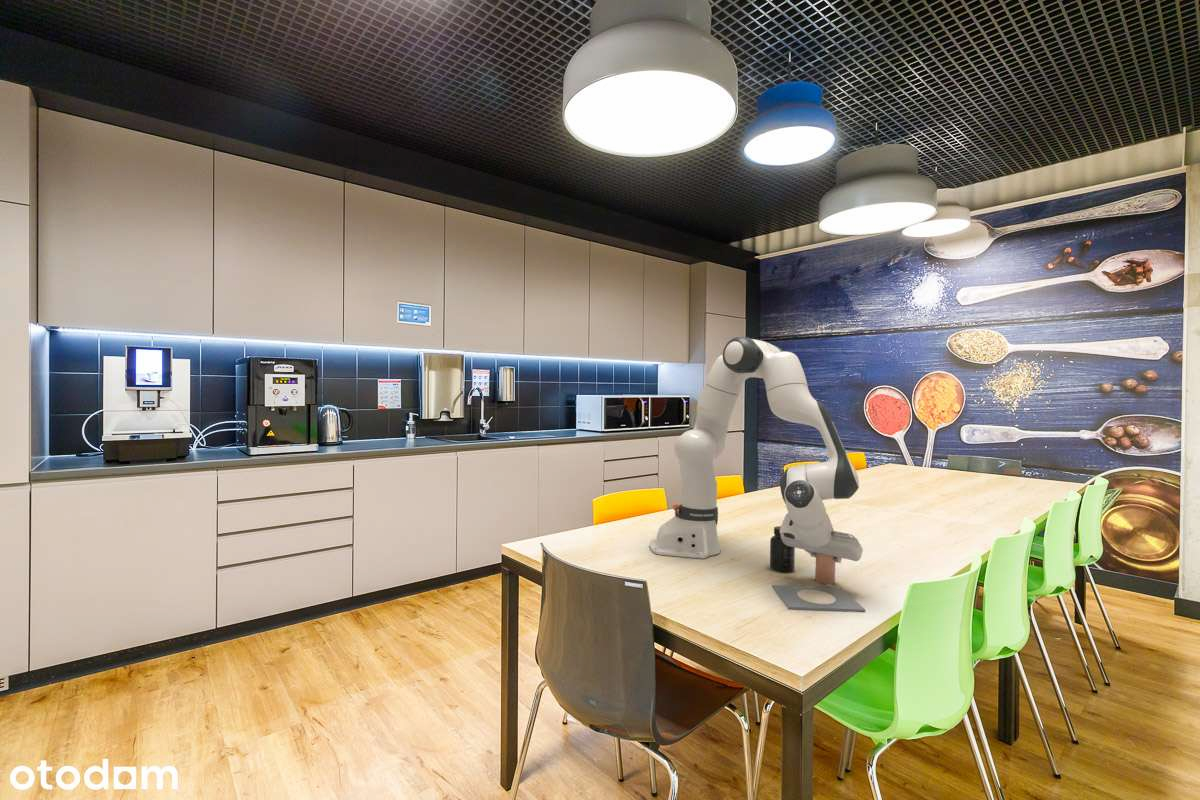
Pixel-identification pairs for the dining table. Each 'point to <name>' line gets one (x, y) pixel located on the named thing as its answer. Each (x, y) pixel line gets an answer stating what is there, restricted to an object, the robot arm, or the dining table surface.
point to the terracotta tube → (825, 569)
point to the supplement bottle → (781, 553)
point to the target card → (816, 598)
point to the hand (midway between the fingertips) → (826, 557)
